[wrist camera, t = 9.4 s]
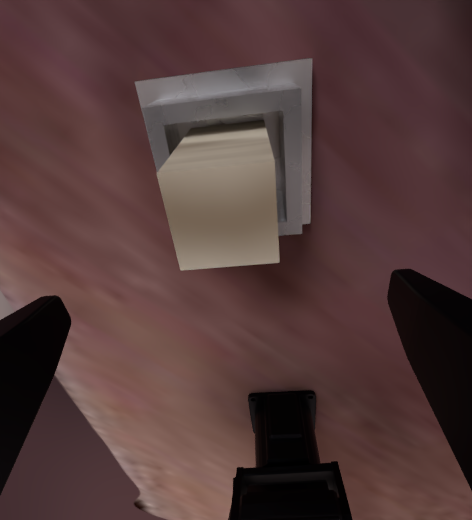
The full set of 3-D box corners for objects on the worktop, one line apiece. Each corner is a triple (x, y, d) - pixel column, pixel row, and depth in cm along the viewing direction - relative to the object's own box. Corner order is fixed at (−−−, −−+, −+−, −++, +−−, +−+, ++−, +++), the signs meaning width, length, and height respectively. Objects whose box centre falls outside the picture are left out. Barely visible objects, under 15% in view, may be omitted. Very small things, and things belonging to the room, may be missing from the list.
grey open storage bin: (307, 216, 21) (319, 247, 18) (175, 229, 22) (163, 260, 19) (309, 58, 17) (324, 58, 13) (140, 80, 17) (114, 86, 14)
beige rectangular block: (268, 190, 19) (279, 262, 13) (203, 197, 20) (180, 270, 13) (263, 119, 17) (274, 161, 11) (191, 128, 18) (156, 173, 11)
